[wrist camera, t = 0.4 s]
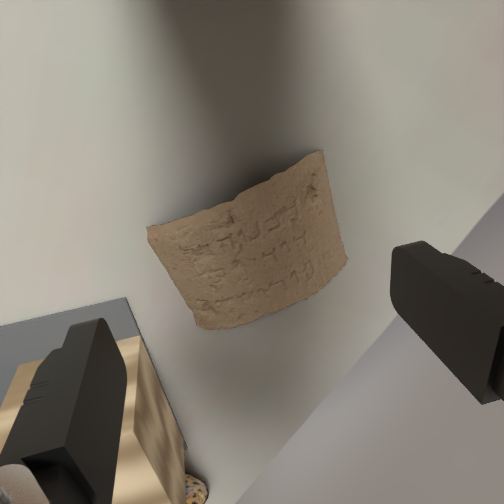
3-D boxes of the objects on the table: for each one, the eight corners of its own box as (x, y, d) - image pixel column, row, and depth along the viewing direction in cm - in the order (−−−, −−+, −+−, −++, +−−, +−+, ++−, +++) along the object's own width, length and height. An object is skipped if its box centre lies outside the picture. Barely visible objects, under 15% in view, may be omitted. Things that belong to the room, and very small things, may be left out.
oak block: (19, 364, 30) (-30, 476, 22) (140, 335, 31) (133, 431, 23) (90, 465, 38) (72, 570, 31) (183, 439, 39) (188, 534, 32)
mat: (-235, 380, 26) (-239, 384, 26) (125, 297, 29) (125, 299, 29) (-58, 516, 38) (-59, 519, 38) (186, 446, 41) (187, 449, 40)
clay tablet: (195, 327, 33) (198, 351, 30) (127, 229, 27) (124, 249, 24) (356, 252, 33) (373, 270, 30) (325, 136, 26) (342, 146, 24)
